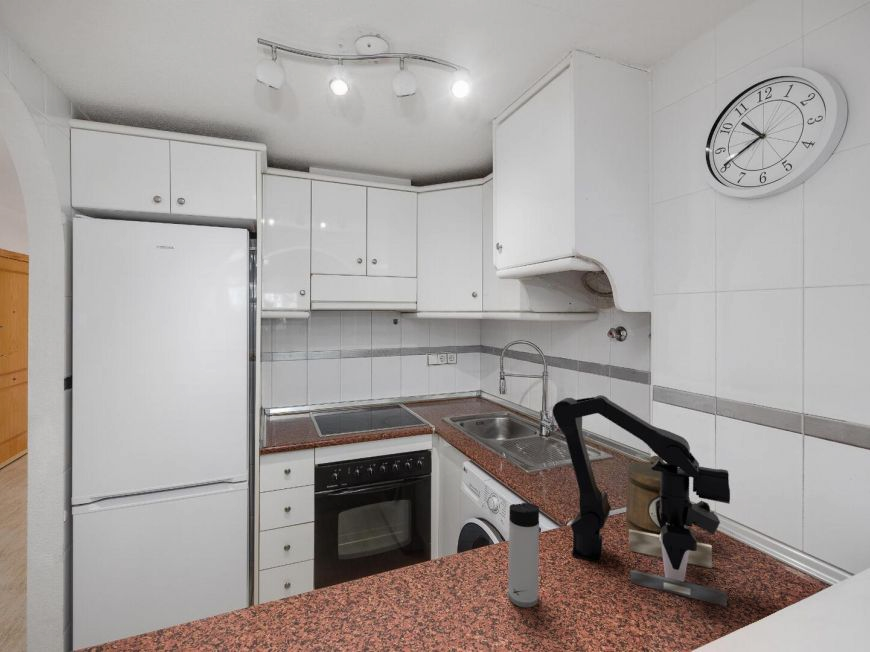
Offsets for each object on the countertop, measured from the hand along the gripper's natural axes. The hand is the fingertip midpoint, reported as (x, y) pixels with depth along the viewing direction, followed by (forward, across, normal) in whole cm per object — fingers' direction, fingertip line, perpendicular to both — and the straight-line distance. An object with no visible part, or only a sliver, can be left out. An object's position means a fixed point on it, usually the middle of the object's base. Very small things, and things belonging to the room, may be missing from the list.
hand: (673, 559), depth 93 cm
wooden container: (+5, +21, +2) cm, 22 cm away
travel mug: (+5, -21, +30) cm, 37 cm away
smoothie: (+5, 0, 0) cm, 5 cm away
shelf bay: (+5, +2, 0) cm, 5 cm away
